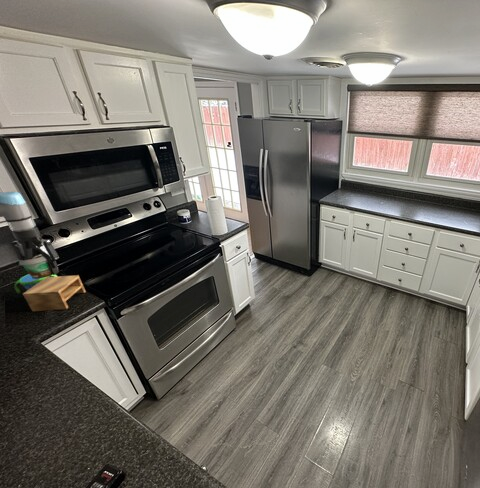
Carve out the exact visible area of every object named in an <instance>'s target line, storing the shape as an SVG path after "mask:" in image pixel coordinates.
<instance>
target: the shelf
mask: <svg viewBox="0 0 480 488" xmlns="http://www.w3.org/2000/svg"><path fill="white" fill-rule="evenodd" d="M57 276H58V275H57ZM86 292H87V291H86V289H85V286H84V284H83V282H82V280H81V278H80V275H79V274H76V275H60V276H58V277H54V276H49V277H46V278H45V279H43V280H42V281H40V282H39V283H38V284H36V285H35V286H33V287H32V288H30V289H29V290H27V289H26V291H25V292H23V293H22V295H23V297H24V299H25V301H26V303H27V305H28V306H29V308H30V310H31V311H32V312H44V311H57V310H58V311H59V310H68V308H69V305H68V303H67V301H68V300H69V299H71V298H72V297H73V296H74V295H75V294H85V293H86Z"/></svg>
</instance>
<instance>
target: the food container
mask: <svg viewBox="0 0 480 488" xmlns="http://www.w3.org/2000/svg"><path fill="white" fill-rule="evenodd" d="M47 262H48V260H47V259H46V258H45V257H44V256H43V255H42V254H41V253H39V254H36V255H33V256H32V258H30V259H27V260H19V259H18V265H19V266H23V268H24V270H25V271H26V272H27V273H28V274H30V276H31V277H32V278H33V279H39V278H44V277H48V276H49V277H52V276H51V275H53V274H52V272H51V270H50V268H49V266H48V264H47ZM57 268H58V269H59V267H58V266H57Z"/></svg>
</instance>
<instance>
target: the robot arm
mask: <svg viewBox="0 0 480 488" xmlns="http://www.w3.org/2000/svg"><path fill="white" fill-rule="evenodd" d="M0 218H4V220H5V222H6V224H7V225H8V228H9V229H10V230H11V233H12V235H13V237H14V239H15V240H14V241H12V242H10V245H11V247H13V249H14V251H15V255H16V256H17V259H18V261H19V260H27V259H30V258H32V257H33V249H34V250H35V251H38V252H39V254H42V255H43V256H44V257H45V258H46V259H47V260H48V262H47V264H48V266H49V268H50V270H51V272H52V274H53V275H57V274H58V273H60V271H59V267H58V264H57V260H59V259H60V256H59V254H58V252H57V251H56V249H55V247H54V245H53V244H52V240H51V239H50V238H48V239H43V238H42V237H41V233H40V230H39V228H38V226H37V225H36V222H35V220H34V218H33V215H31V212H30V209H29V208H28V205H27V202H26V200H25V199H24V197H23V195H22V194H21V193H20V192H18V191H5V192H0ZM57 267H58V268H57Z"/></svg>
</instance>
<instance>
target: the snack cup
mask: <svg viewBox="0 0 480 488" xmlns="http://www.w3.org/2000/svg"><path fill="white" fill-rule="evenodd" d="M48 277H58V275H57V274H55V275H51V276H48ZM45 278H46V277H44V278H39V279H33V278H32V277H31V276H30V274H29V273H28V274H26V275H24V276H21V277H20V278H19V279H18V280H17V281H16V282H15V283H14V290H15V292H16V293H17V294H20V293H21V289H20V288H18V286H17V285H18V284H20V285H21V286H23V287H24V289H25V290H26V291H27V290H29V289H30V288H32V287H33V286H35V285H36V284H38V283H39V282H40V281H42V280H43V279H45Z"/></svg>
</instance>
